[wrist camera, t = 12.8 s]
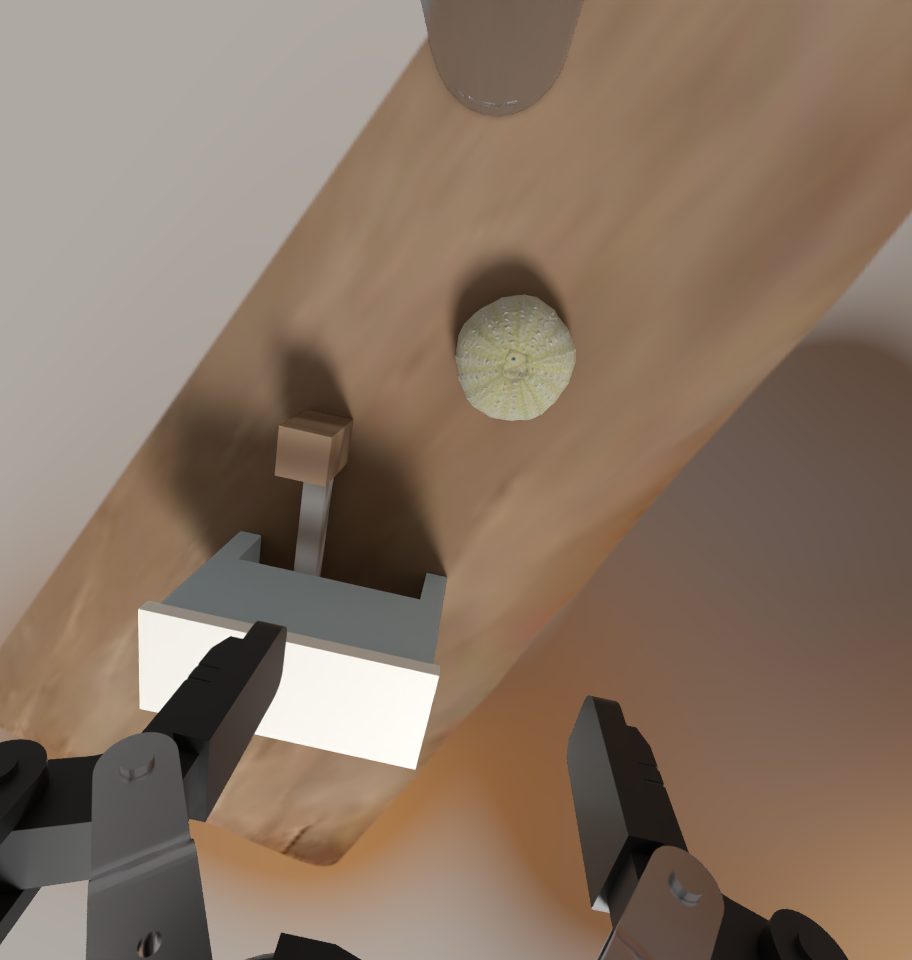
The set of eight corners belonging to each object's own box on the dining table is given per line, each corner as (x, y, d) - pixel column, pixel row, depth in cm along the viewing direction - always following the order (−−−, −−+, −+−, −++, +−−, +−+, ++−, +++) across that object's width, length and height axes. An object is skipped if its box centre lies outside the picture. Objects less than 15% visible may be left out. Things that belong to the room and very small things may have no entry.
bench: (235, 525, 46) (138, 608, 33) (453, 574, 46) (439, 676, 33) (230, 604, 49) (139, 708, 36) (434, 649, 49) (415, 769, 36)
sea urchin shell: (443, 419, 39) (449, 354, 32) (460, 343, 43) (469, 269, 35) (555, 440, 39) (586, 380, 32) (563, 362, 42) (593, 292, 35)
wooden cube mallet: (307, 409, 42) (278, 425, 36) (353, 419, 42) (331, 437, 36) (289, 573, 47) (262, 609, 42) (330, 582, 47) (308, 619, 42)
